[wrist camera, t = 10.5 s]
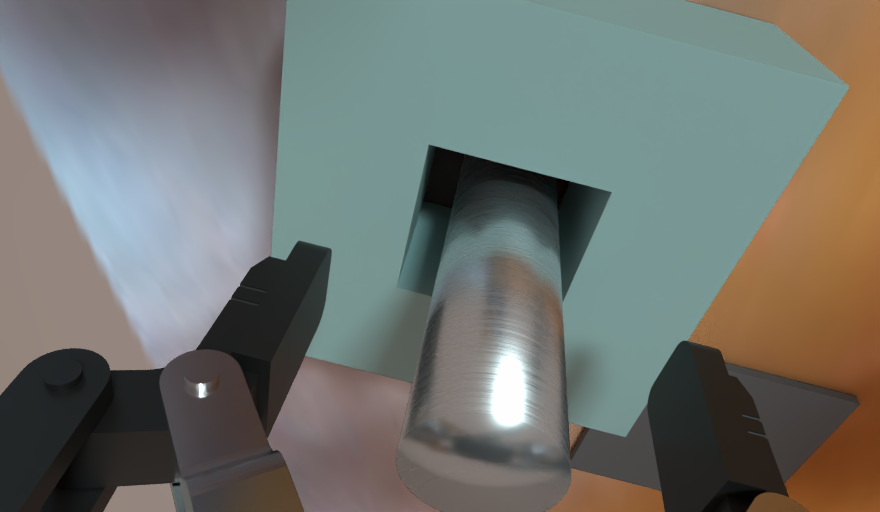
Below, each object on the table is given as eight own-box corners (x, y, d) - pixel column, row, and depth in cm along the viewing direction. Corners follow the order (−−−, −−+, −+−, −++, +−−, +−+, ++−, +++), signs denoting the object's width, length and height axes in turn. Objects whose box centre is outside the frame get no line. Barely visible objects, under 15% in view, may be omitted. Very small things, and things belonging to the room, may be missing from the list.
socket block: (774, 24, 17) (850, 86, 13) (610, 333, 24) (625, 437, 20) (351, -89, 17) (290, -62, 12) (312, 256, 24) (265, 345, 20)
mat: (856, 396, 24) (860, 404, 24) (751, 506, 29) (754, 514, 28) (635, 339, 24) (637, 347, 23) (567, 459, 28) (567, 466, 28)
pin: (567, 132, 19) (598, 440, 10) (538, 210, 21) (539, 537, 11) (476, 108, 19) (413, 393, 10) (455, 188, 21) (383, 498, 11)
